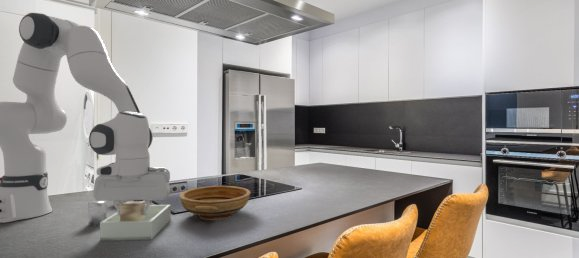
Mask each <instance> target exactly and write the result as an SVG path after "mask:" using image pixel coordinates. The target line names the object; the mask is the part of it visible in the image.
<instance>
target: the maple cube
mask: <svg viewBox="0 0 579 258" xmlns="http://www.w3.org/2000/svg"><path fill="white" fill-rule="evenodd" d="M145 205H146V204H145V200H143V201H128V202H126V203H124V204H123V205H121V206H120V221H142V220H143V219H145V215H141V209H143V208H145Z"/></svg>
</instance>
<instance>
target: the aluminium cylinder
mask: <svg viewBox="0 0 579 258" xmlns="http://www.w3.org/2000/svg"><path fill="white" fill-rule="evenodd" d="M107 203H108V201H97V200H92V201H89V202H88V204H87V207H88V210H87V211H88V212H87V213H88V215H87V216H88V217H87V218H88V219H87V223H88V225H87V226H89V227H100V222H102V221H103V220H105V219H107V218H108V217H107V216H108V207H107V206H108V204H107Z"/></svg>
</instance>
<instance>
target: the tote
mask: <svg viewBox="0 0 579 258" xmlns="http://www.w3.org/2000/svg"><path fill="white" fill-rule="evenodd" d="M146 205H147V204H145V206H146ZM171 206H172V205H171V204H151V205H150V207H149V208H148V215H145V219H143V220H142V221H120V216H118V211H117V212H114V213H113V214H112V215H110V216H108V217H107V219H105V220H103V221H102V222H100V226H99V241H100V242H103V241H104V242H106V241H107V242H108V241H109V242H111V241H139V240H140V241H145V240H147V241H149V240H153V239H154V238H155V236H156V235H158V233H159V232H160V231H161V230H162V229H163V228H164V227H165V226H167V224H168V223H169V222H170V221H171V219H172V215H171V214H172V212H171V210H172V208H171Z"/></svg>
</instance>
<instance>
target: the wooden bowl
mask: <svg viewBox="0 0 579 258" xmlns="http://www.w3.org/2000/svg"><path fill="white" fill-rule="evenodd" d="M251 193H252V192H251V190H249V189H248V188H245V187H240V186H233V185H211V186H210V185H208V186H200V187H196V188H190V189H187V190H184V191H182V192H181V193H179V195H178V196H179V199H180V202H181V203H180V204H181V205H182V207H183V208H184V210H186V212H189V213H191V214H193V215H198V216H199V219H202V220H205V221H220V220H225V219H228V218H230V217H231V216H232V215H233V213H236V212H238V211H240V210H241V209H243V208H244V207H246V205H247V204H248V202H249V199H250V196H251Z"/></svg>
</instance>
